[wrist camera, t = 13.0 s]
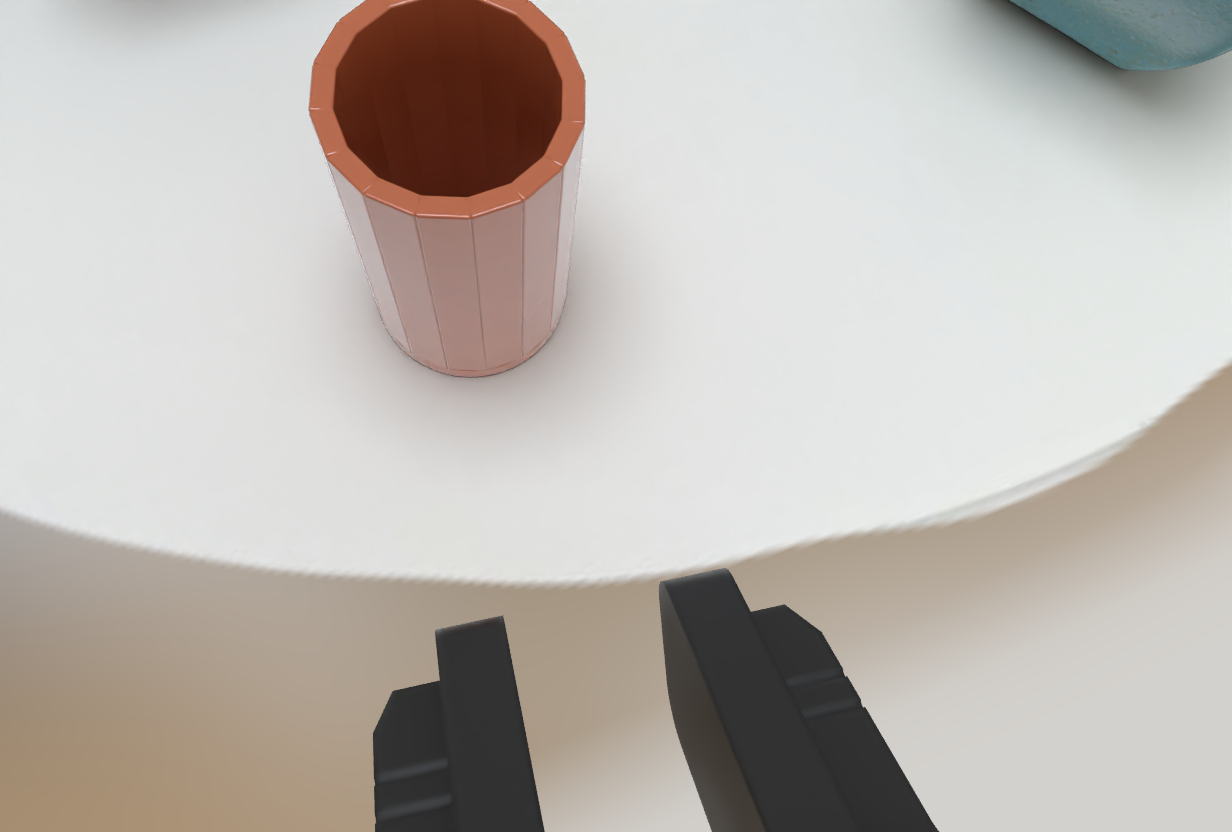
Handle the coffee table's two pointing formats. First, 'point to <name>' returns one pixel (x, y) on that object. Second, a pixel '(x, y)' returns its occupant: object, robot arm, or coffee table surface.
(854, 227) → the coffee table surface
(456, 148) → the tumbler
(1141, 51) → the flower pot
